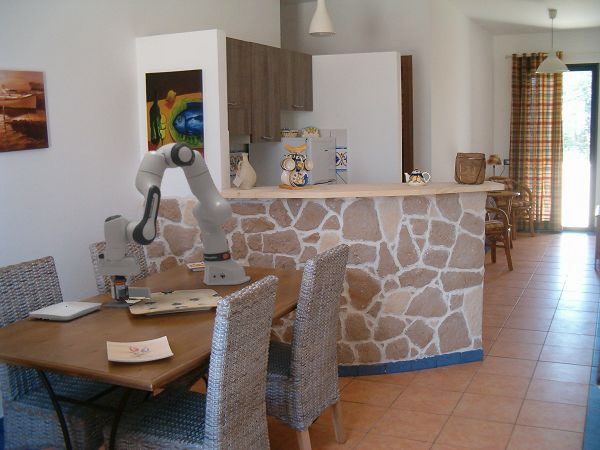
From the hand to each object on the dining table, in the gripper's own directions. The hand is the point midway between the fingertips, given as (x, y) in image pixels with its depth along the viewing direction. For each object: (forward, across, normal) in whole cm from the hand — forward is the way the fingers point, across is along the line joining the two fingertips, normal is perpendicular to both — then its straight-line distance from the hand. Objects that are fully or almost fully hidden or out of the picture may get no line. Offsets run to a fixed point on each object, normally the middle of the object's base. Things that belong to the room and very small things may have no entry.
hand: (120, 285), depth 311 cm
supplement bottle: (+6, 0, 0) cm, 7 cm away
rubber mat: (+8, 0, 0) cm, 8 cm away
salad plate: (+8, +13, +20) cm, 26 cm away
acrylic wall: (+8, +2, -9) cm, 12 cm away
